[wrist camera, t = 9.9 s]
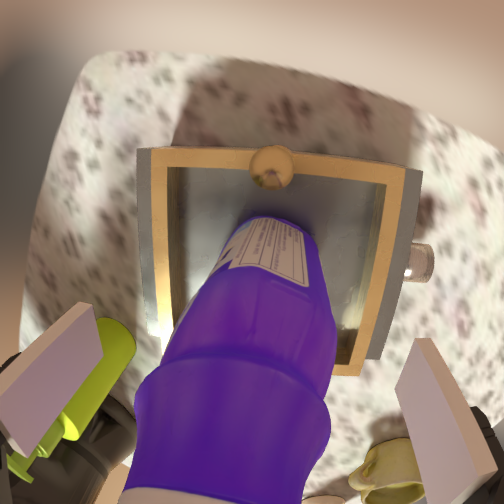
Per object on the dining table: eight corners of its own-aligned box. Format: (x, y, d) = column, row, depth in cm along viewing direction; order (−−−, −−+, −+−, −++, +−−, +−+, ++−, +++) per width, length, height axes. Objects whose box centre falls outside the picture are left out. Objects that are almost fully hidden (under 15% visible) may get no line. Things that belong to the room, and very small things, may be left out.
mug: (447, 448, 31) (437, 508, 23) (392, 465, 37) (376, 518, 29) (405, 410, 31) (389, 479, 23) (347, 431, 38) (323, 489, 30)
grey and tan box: (173, 303, 29) (116, 387, 18) (170, 141, 24) (81, 147, 13) (393, 324, 27) (433, 417, 16) (427, 165, 22) (516, 189, 11)
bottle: (248, 193, 19) (43, 461, 2) (333, 234, 19) (426, 549, 2) (205, 291, 21) (75, 536, 5) (281, 325, 21) (247, 592, 5)
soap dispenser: (118, 306, 30) (-3, 445, 11) (144, 359, 32) (57, 503, 13) (80, 311, 31) (-33, 427, 13) (105, 360, 33) (18, 482, 15)
